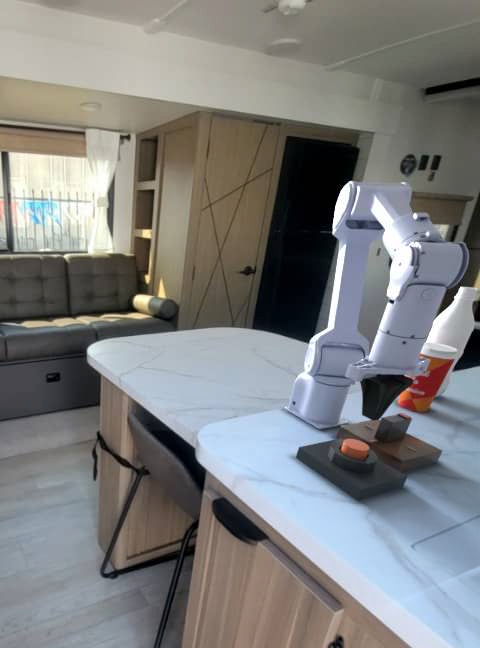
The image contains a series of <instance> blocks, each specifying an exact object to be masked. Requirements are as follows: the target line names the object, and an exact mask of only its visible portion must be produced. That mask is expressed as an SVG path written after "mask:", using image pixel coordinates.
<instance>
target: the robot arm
mask: <svg viewBox="0 0 480 648" xmlns="http://www.w3.org/2000/svg"><path fill="white" fill-rule="evenodd" d="M412 195H413V188H412V187H411V184H410V183H409V182H405V181H403V182H368V181H367V182H365V181H362V182H361V181H355V180H350V181H348V182H347V183H346V184H345V185H344V186H343V188H342V189H341V190H340V193H339V196H338V198H337V201H336V204H335V208H334V209H335V210H334V215H333V216H334V217H333V223H332V236H334V237H335V238H336V239H337V240H338V241H339V245H338V253H337V254H338V255H337V262H336V268H335V274H334V275H335V276H334V283H333V288H332V289H333V290H332V295H331V302H330V308H329V309H330V310H329V317H328V323H327V328H325V329H324V330H322V331H320V332H319V333H317V334H315V335H314V336H313V337H311V338H310V340H309V344H308V348H307V351H306V352H305V353H306V354H305V356H304V366H303V367H304V371H303V372H301V373H300V374H299V375H298V376H297V378H296V379H295V381H294V384H293V387H292V391H291V393H290V399H289V403H288V406H285V407H284V410H286V411H287V412H289V413H291V414H292V415H294V416H296V417H297V418H299V419H300V420H301V421H304V422H306V423H308V424H309V425H310V426H313V427H314V428H316V429H318V430H325V429H330V428H334V427H340V426H344V425H349V424H350V422H349V421H348V420H347V419H344V418H343V417H342V416H341V415H342V412H343V409H344V406H345V403H346V400H347V397H348V394H349V391H350V389H351V385H352V386H355V385H356V383H359V384H360V388H361V396H362V398H361V399H362V403H361V404H362V406H361V416H363V417H365V418H367V419H369V420H373V421H374V420H381V418H382V417H384V415H385V413H386V412H387V410H388V409H389V408H390V406H391V405H392V404H393V403H394V401H396V399H397V398H399V396H400V394H401V393H402V392H403V391H405V390H406V389H407V388H409V387H410V386H412V384H413V382H414V380H413V379H412V378H410V377H407V376H406V375H408V376H412V377H414V376H420V375H421V373H422V372H424V371H426V370H427V368H428V365H429V363H430V361H431V360H430V359H427V358H424V357H421V356H419V355H420V353H421V350H422V348H423V345H424V343H425V342H426V341H427V339H428V336H429V334H430V331H431V329H432V326H433V322H434V321H435V319H436V316H437V313H438V311H439V308H440V306H441V304H442V301H443V298H444V297H445V293H446V291H447V290H450V289H452V288H453V287H455V286H457V285H458V283H459V282H460V281H461V280H462V278H463V277H464V275H465V273H466V271H467V269H468V266H469V261H470V252H469V248H468V247H467V244H466V242H463V241H453V242H452V241H446V240H445V238H444V236H442V234H441V233H440V231H439V230H438V229H437V228H436V226H435V225H434V224H433V222H432V221H431V220H430V217H431V216H430V214H429V213H427V212H414V211H413V210H412V208H411V206H410V204H411V200H412ZM380 239H382V243H383V246H384V248H385V249H386V251H387V253H388V254H389V255H388V256H389V257H390V259H391V261H392V262H391V264H390V265H391V266H390V270H389V284H388V287H387V290H386V292H387V293H386V297H387V298H388V300H387V304H386V306H385V310H384V312H383V315H382V318H381V321H380V323H379V326H378V329H377V332H376V336H375V338H374V340H373V343H372V346H371V350H370V341H369V340H368V339H367V338H366V337H365V336H364V335H363V334H362V333H361V332H360V331H359V330H358V325H359V319H360V313H361V305H362V299H363V293H364V287H365V285H364V284H365V280H366V274H367V273H366V272H367V266H368V260H369V253H370V247H371V245H372V243H373V242H375V241H378V240H380ZM369 350H370V351H369Z"/></svg>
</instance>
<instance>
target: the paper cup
mask: <svg viewBox="0 0 480 648" xmlns="http://www.w3.org/2000/svg"><path fill="white" fill-rule="evenodd" d="M457 352H458V350H457V349H456V348H454V347H451V346H448V345H444V344H439V343H432V342H426V341H425V343H424V345H423V348H422V350H421V353H420V355H419V356H421V357H424V358H427V359H430V360H431V361H430V363H429V365H428V368H427V370H426V371H424V372H422V373H421V375H420V376H414V377H412V376H408V375H405V376H407V377H410V378H412V379H413V380H414V382H413V384H412V386H410V387H409V388H407V389H406V390H405V391H403V392H402V393H401V394H400V395H399V396H398V400H397V404H398V405H399V406H400V407H401V408H404V409H406V410H409V411H413V412H419V413H423V412H427V411H428V410H429V409H430V407H431V405H432V404H433V401H434V400H435V398H436V397H435V396H436V394H437V392H438V390H439V388H440V386H441V385H442V383H443V381H444V379H445V377H446V375H447V373H448V371H449V369H450V367H451V366H452V364H453V362H454V360H455V359H456V358H458V355H457Z"/></svg>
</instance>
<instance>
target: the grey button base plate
mask: <svg viewBox="0 0 480 648" xmlns="http://www.w3.org/2000/svg"><path fill="white" fill-rule="evenodd" d="M343 442H344V439H342V438H339V439H338V438H334V439H331V440H330V439H329V440H326V441H320V442H317V443H312V444H307V445H303V446H299V447H298V449H297V452H296V456H295V458H296V460H298V461H300V462H302V463H303V464H304V465H306V466H307V467H309V468H310V469H311V470H313V471H314V472H315V473H317V474H318V475H320V476H321V477H322V478H324V479H326V480H327V481H328V482H330V483H331V484H333V485H334V486H335V487H336V488H338V489H340V490H341V491H342V492H344V493H345V494H347V495H348V496H350V497H351V498H353V499H354V500H355V501H357V502H358V501H361V500H365V499H368V498H371V497H374V496H378V495H381V494H385V493H388V492H392V491H395V490H400V489H402V488H404V486H405V484H406V481H407V479H408V475H407V474H405V473H403V472H399V471H398V470H396V469H394V468H392V467H391V466H389V465H387V464H385V463H384V462H382V461H380V460H379V459H378V456H377V455H376V454H375V453H374V452H373V451H372V450H370V449H369V451H368V454H367V457H366V458H365V459H356V458H353V457H350V456H347V455H345V454H344V453H342V452H341V448H342V445H343Z"/></svg>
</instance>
